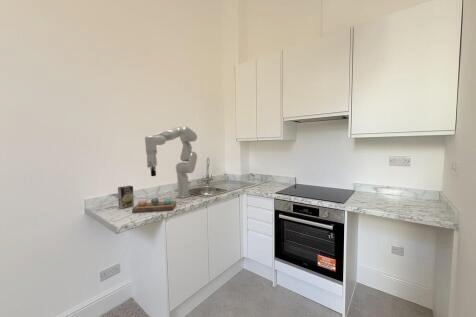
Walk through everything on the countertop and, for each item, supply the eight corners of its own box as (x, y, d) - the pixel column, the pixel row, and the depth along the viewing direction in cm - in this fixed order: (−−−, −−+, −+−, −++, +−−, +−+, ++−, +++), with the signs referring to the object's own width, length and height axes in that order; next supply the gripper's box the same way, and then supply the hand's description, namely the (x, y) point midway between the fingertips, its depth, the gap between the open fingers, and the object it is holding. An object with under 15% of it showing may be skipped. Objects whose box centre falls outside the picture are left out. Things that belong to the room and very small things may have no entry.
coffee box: (122, 209, 157) (120, 188, 156) (118, 207, 161) (117, 187, 160) (134, 206, 164) (133, 186, 163) (130, 204, 168) (129, 185, 167)
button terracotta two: (140, 204, 157) (139, 200, 157) (146, 204, 158) (146, 200, 158) (137, 206, 152) (137, 202, 152) (145, 206, 153) (144, 202, 153)
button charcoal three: (152, 202, 158) (152, 198, 158) (159, 201, 159) (159, 198, 159) (150, 204, 153) (150, 200, 153) (157, 203, 154) (157, 199, 154)
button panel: (138, 207, 161) (138, 203, 161) (175, 204, 165) (175, 201, 165) (132, 213, 148) (132, 208, 147) (172, 210, 152) (172, 206, 151)
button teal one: (164, 203, 160) (164, 199, 159) (171, 202, 160) (171, 198, 160) (163, 204, 155) (163, 200, 155) (170, 204, 155) (170, 200, 155)
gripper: (149, 151, 165) (151, 174, 167) (143, 153, 150) (145, 178, 152) (159, 151, 166) (161, 173, 168) (154, 152, 151) (156, 177, 153)
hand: (153, 175), depth 160 cm, fingers closed
